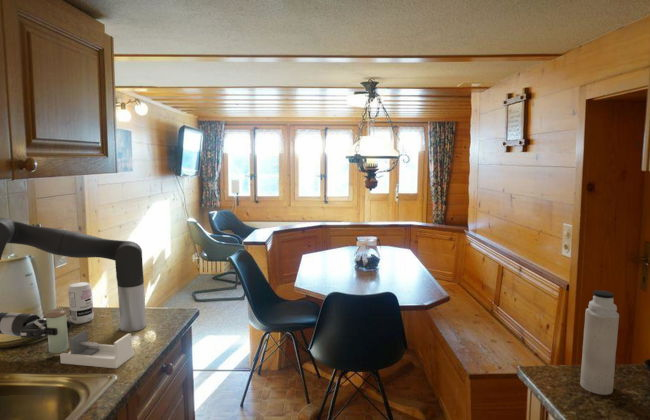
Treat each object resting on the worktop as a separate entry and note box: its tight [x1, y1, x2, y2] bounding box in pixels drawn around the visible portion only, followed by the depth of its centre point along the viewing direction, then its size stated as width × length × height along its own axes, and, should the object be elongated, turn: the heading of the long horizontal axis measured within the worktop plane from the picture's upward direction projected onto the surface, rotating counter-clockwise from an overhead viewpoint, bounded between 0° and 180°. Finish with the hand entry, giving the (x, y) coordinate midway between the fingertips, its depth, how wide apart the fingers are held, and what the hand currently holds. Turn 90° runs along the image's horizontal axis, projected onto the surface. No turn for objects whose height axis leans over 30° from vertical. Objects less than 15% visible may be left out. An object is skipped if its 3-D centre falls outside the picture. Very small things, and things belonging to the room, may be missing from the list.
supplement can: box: [67, 281, 95, 325], centre depth 178 cm, size 8×8×15 cm
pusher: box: [69, 329, 99, 355], centre depth 145 cm, size 7×7×7 cm
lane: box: [59, 332, 135, 369], centre depth 145 cm, size 20×9×8 cm, turn 79°
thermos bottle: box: [579, 290, 620, 396], centre depth 125 cm, size 8×8×28 cm
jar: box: [45, 308, 70, 354], centre depth 147 cm, size 6×6×13 cm
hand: (63, 328), depth 146 cm, fingers closed on jar, 5 cm apart
